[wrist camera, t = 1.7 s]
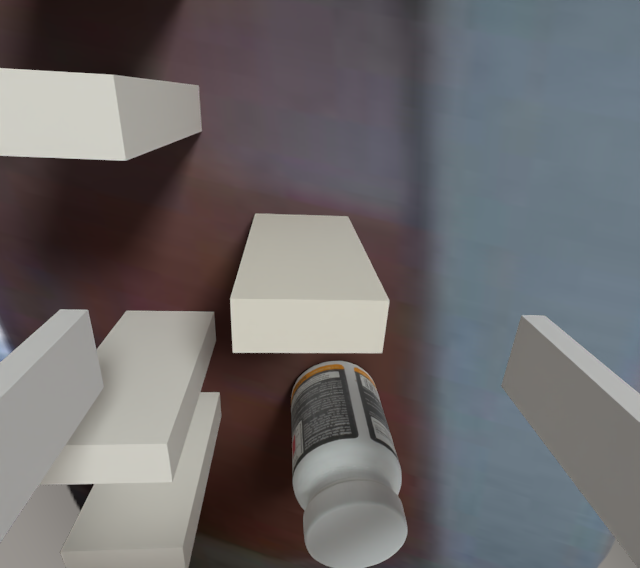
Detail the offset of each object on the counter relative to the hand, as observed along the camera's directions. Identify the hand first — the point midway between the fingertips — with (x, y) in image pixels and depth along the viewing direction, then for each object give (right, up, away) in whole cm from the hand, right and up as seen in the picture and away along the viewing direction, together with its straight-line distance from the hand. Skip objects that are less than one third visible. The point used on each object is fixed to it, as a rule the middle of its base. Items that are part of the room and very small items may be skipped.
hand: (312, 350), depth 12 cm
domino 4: (-1, +5, +10) cm, 11 cm away
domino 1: (-8, +10, +6) cm, 15 cm away
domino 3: (-9, -6, +14) cm, 18 cm away
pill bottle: (+1, -5, +15) cm, 15 cm away
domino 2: (-9, 0, +11) cm, 14 cm away
